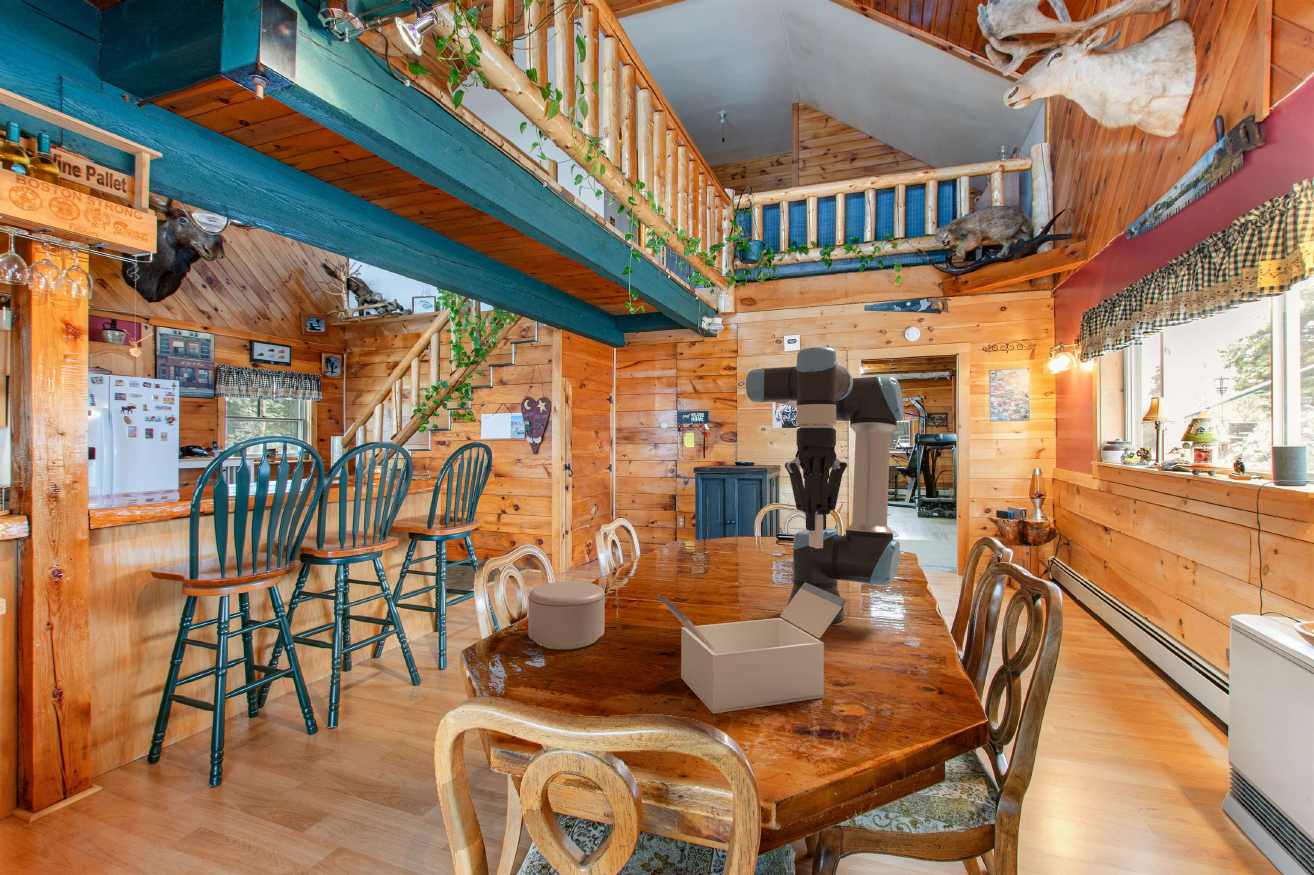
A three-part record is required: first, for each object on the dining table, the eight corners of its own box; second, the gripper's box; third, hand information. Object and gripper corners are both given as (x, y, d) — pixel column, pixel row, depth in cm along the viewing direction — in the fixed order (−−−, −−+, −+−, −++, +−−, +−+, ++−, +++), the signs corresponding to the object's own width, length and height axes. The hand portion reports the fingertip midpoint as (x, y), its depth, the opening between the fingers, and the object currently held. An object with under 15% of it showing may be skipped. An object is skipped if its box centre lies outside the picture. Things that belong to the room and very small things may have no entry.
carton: (779, 665, 124) (780, 617, 124) (823, 697, 108) (823, 643, 108) (681, 677, 117) (681, 627, 117) (712, 713, 102) (713, 655, 102)
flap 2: (779, 615, 123) (781, 617, 123) (817, 637, 109) (819, 638, 109) (804, 582, 124) (806, 583, 124) (845, 599, 111) (846, 600, 111)
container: (553, 658, 127) (554, 603, 127) (514, 636, 141) (514, 587, 141) (619, 639, 139) (620, 590, 139) (577, 622, 153) (577, 576, 153)
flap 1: (658, 593, 114) (656, 595, 114) (683, 613, 101) (681, 615, 101) (686, 624, 116) (684, 626, 116) (714, 648, 103) (712, 650, 103)
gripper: (833, 427, 122) (832, 542, 122) (777, 427, 118) (776, 545, 118) (856, 427, 115) (855, 548, 115) (797, 426, 110) (797, 552, 110)
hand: (815, 546), depth 116 cm, fingers closed
